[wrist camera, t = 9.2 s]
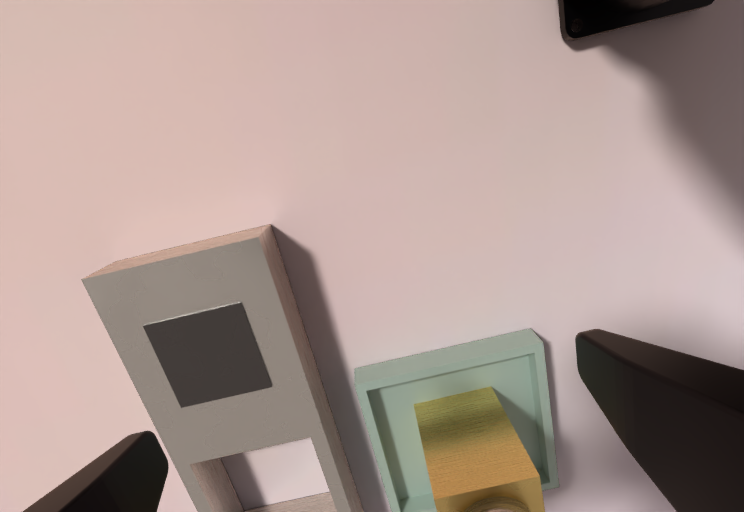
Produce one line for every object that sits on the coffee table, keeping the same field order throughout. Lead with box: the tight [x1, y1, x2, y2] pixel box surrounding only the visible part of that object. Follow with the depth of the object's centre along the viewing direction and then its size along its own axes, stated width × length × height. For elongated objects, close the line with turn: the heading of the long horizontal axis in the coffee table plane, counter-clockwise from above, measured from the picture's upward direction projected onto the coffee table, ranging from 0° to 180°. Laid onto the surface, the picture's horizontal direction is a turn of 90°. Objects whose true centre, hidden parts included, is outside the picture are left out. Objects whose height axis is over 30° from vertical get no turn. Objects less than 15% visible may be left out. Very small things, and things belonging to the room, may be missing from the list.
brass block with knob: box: [413, 386, 545, 512], centre depth 19 cm, size 4×4×7 cm
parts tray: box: [355, 328, 559, 512], centre depth 22 cm, size 10×10×2 cm
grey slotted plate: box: [81, 224, 364, 512], centre depth 21 cm, size 8×24×3 cm, turn 13°
